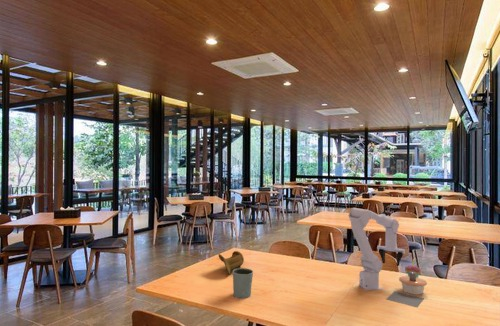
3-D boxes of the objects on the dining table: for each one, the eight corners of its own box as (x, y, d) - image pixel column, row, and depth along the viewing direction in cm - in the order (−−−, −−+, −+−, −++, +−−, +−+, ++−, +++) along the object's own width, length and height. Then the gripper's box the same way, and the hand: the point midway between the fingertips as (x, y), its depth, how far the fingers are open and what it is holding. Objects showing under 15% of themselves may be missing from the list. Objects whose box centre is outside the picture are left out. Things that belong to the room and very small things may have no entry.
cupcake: (422, 280, 188) (422, 259, 188) (406, 279, 190) (407, 258, 190) (418, 276, 196) (418, 255, 197) (403, 274, 198) (403, 254, 198)
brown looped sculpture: (204, 258, 201) (230, 246, 217) (210, 279, 200) (236, 266, 215) (222, 255, 189) (248, 243, 204) (229, 277, 187) (255, 263, 203)
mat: (417, 308, 150) (417, 307, 150) (385, 300, 159) (385, 299, 159) (424, 299, 161) (424, 298, 161) (394, 291, 170) (394, 291, 170)
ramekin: (405, 286, 179) (405, 276, 179) (428, 292, 171) (428, 281, 171) (397, 291, 171) (397, 281, 171) (420, 297, 163) (420, 287, 163)
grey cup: (229, 292, 165) (229, 269, 166) (247, 290, 169) (248, 267, 170) (236, 300, 156) (237, 275, 156) (256, 297, 160) (256, 272, 160)
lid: (408, 286, 164) (408, 277, 164) (394, 277, 177) (394, 269, 177) (432, 285, 165) (432, 276, 165) (416, 277, 178) (417, 268, 178)
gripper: (406, 240, 182) (406, 265, 182) (380, 237, 192) (380, 260, 191) (403, 242, 177) (403, 268, 177) (375, 238, 186) (375, 262, 186)
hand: (390, 264), depth 184 cm, fingers open, 7 cm apart
